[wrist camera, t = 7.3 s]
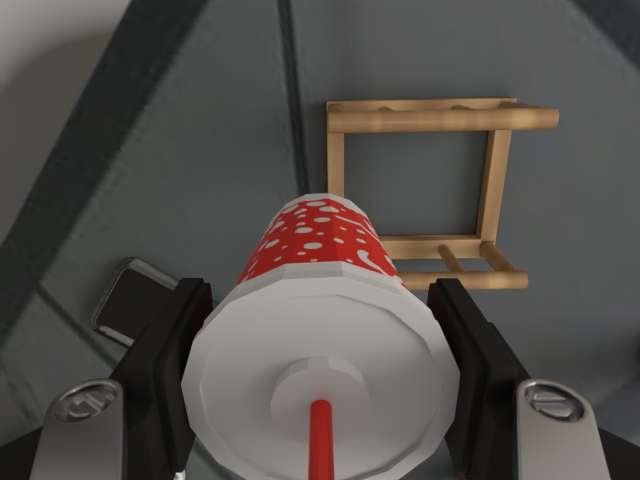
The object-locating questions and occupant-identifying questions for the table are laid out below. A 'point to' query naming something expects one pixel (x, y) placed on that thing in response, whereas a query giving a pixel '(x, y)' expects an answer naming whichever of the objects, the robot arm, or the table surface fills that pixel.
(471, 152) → the table surface
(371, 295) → the beverage cup
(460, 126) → the cup rack
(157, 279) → the phone
